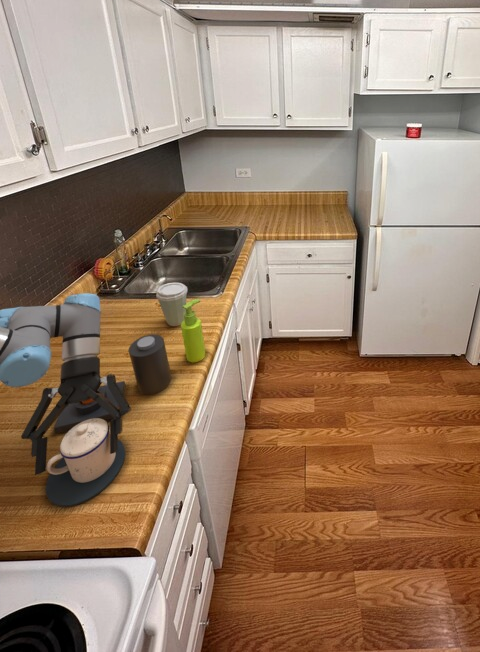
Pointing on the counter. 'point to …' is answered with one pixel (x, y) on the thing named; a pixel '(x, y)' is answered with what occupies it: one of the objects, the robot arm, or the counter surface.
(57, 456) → the teacup with lid
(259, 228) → the counter surface
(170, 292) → the disposable coffee cup
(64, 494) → the mat
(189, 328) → the soap dispenser
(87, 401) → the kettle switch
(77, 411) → the kettle base
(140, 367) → the dark grey cylinder
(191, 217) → the counter surface
